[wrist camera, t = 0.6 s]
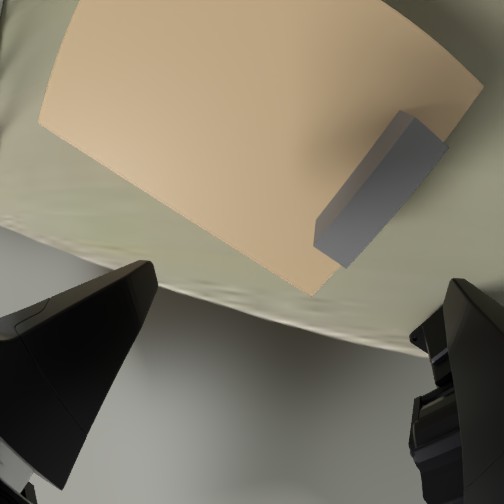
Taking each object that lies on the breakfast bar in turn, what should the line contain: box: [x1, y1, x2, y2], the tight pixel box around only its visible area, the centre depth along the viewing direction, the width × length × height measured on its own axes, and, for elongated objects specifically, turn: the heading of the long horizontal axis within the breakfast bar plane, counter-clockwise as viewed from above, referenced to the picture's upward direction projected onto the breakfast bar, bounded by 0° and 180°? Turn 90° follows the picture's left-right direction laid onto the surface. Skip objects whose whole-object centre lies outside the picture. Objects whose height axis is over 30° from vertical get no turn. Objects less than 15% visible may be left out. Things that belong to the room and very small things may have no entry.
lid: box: [38, 0, 484, 297], centre depth 11 cm, size 18×13×3 cm
